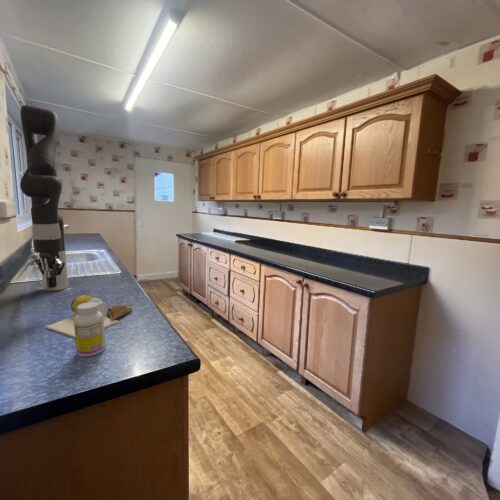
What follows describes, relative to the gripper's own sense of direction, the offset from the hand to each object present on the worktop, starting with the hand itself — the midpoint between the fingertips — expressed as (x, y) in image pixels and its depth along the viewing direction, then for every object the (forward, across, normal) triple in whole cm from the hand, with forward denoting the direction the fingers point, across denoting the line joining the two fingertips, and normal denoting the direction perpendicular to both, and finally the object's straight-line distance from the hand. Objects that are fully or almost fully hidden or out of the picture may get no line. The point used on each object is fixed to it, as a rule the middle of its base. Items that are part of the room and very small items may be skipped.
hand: (52, 287), depth 93 cm
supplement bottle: (+10, +33, -10) cm, 36 cm away
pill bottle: (+6, +7, +4) cm, 10 cm away
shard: (+10, +20, +10) cm, 25 cm away
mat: (+10, +17, -1) cm, 19 cm away
